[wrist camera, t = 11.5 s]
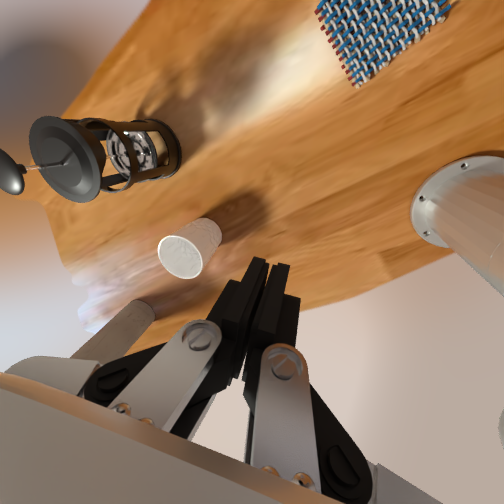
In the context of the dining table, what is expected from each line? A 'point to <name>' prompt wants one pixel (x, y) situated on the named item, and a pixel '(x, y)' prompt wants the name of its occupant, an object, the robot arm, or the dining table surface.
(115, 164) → the french press
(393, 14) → the woven mat
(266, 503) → the robot arm
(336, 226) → the dining table surface
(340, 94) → the dining table surface
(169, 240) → the white cup
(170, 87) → the dining table surface
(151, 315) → the thermos bottle
